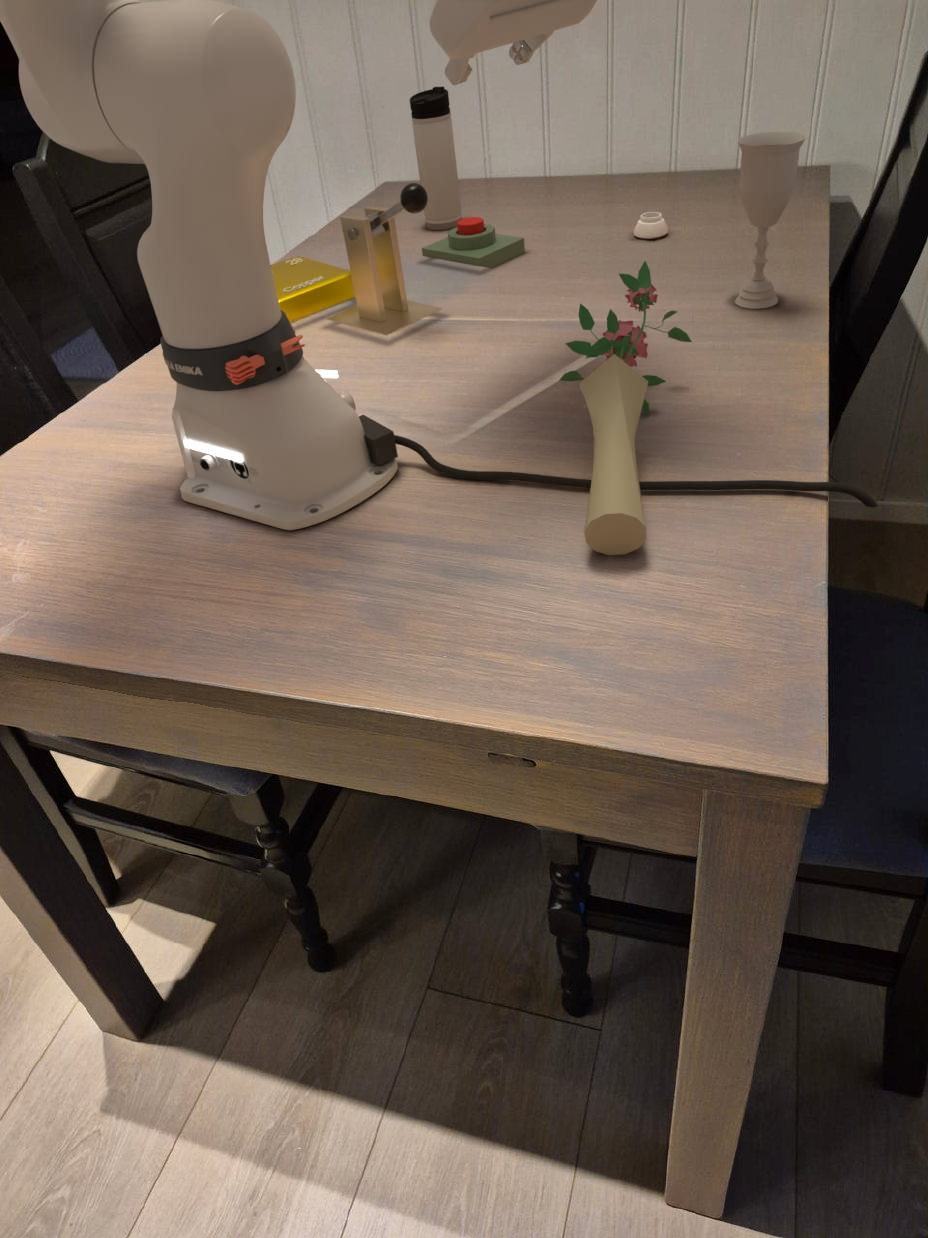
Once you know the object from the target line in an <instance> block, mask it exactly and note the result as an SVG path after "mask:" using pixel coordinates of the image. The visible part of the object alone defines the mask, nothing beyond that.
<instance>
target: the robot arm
mask: <svg viewBox="0 0 928 1238" xmlns="http://www.w3.org/2000/svg"><path fill="white" fill-rule="evenodd" d="M597 1H598V0H436V1H435V3H434V4H433V5H434V6H433V8H432V10H431V14H430V16H429V22H428V23H429V29H430V30H429V31H430V33H431V36H432V37H433V39H434V40H435V42H436V43H437V44H438V45H439V47H440V48H441V49H442V51H443V52H444V54H446V56H447V58H449V60H448V62H447V63H446V66H445V67H444V75H445V78H447V80H448V81H449V83H450V84H451V85H452V86H457V85H460V84H463V83H465V82H467V81H468V77H469V76H471V73H472V71H473V68H472V67H471V65H470V63H469V61H470V59H474V57H475V55H476V54H480V53H483V52H486V51H489V50H493V49H497V48H499V47H503V46H507V45H511V44H512V45H511V46H510V48H509V49H508V55H509V57H510V59H511V60H512V61H513V63H514V65H516V66H520V65H524V64H527V63H529V62H530V61H531V59H532V57H533V56H534V54H535V52H536V50H538V49H539V48H540V47H541V46H542V45H543V44H544V43H545V42H546V41H547V40H548V39H550V37H551V36H553V34H554V32H555V31H558V30H561V29H565V28H568V27H572V26H575V25H578V24H580V23H581V22H582V21H584V19H585V18H586V17H588V15H590V13H591V11H592V10H593V8H594V7H595V5H596V3H597ZM0 23H1V25H2V27H3V29H4V31H5V33H6V35H7V36H8V38H9V41H10V42H11V45H12V47H13V49H14V51H15V53H16V55H17V58H18V81H19V86H20V87H19V88H20V91H21V94H22V97H23V100H24V103H25V106H26V108H27V110H28V112H29V114H30V115H31V118H32V119H33V120H34V121H35V122H34V123H36V125H37V126H38V127H39V128H40V130H41V131H42V132H43V133H44V134H45V135H46V136H47V137H48V138H49V139H50V140H52V141H53V142H54V143H56V144H58V145H60V146H61V147H64V148H66V149H68V150H71V151H72V152H75V153H78V154H79V155H82V156H85V157H88V158H90V159H91V158H92V159H94V160H96V161H101V162H104V163H108V164H109V163H110V164H133V165H134V164H135V165H139V164H140V165H145V167H146V169H147V172H148V173H147V174H148V177H149V183H150V189H151V203H152V204H151V206H152V207H151V221H150V225H149V226H148V227H147V228H146V230H144V232H143V233H142V235H141V237H140V239H139V241H138V245H137V250H136V256H137V262H138V263H137V264H138V266H139V269H140V272H141V275H142V279H143V281H144V284H145V288H146V290H147V294H148V296H149V299H150V302H151V305H152V307H153V311H154V313H155V316H156V320H157V323H158V326H159V328H160V331H161V332H160V333H161V337H160V340H159V341H160V346H161V350H162V357H163V360H164V364H165V365H166V366H167V369H168V371H169V375H170V377H171V379H172V380H173V381H174V382H175V383H176V388H175V389H176V390H175V391H176V394H175V399H174V404H173V407H172V412H171V419H172V420H171V421H172V423H173V427H174V431H175V435H176V440H177V442H178V446H179V451H180V455H181V458H182V462H183V465H184V468H185V472H186V476H187V477H186V478H185V480H184V481H183V482H182V484H181V486H180V488H179V490H180V495H181V499H182V500H183V501H184V502H187V503H190V504H194V505H197V506H200V507H204V508H209V509H212V510H214V511H218V512H222V513H225V514H228V515H233V516H235V517H239V518H243V519H246V520H250V521H252V522H253V521H254V522H256V523H259V524H263V525H267V526H269V527H270V526H271V527H274V528H278V529H281V530H286V531H296V530H300V529H304V528H308V527H311V526H314V525H317V524H319V523H323V522H325V521H327V520H330V519H332V518H335V517H337V516H339V515H341V514H343V513H344V512H346V511H348V510H350V509H352V508H354V507H355V506H357V505H359V504H360V503H362V502H364V501H365V500H367V499H368V498H370V497H372V496H373V495H374V494H375V493H377V492H378V491H380V490H381V489H382V488H383V487H385V486H386V485H387V484H388V483H389V482H390V481H391V480H392V478H393V477H394V476H395V474H396V473H397V471H398V469H399V465H398V463H397V458H398V457H399V454H398V449H397V445H399V446H402V447H405V448H407V449H410V450H411V451H414V452H415V453H417V454H418V456H420V457H421V458H422V459H423V461H424V462H425V463H426V464H427V465H428V466H429V467H430V468H431V469H432V470H434V471H436V472H438V473H441V474H443V475H446V476H450V477H454V478H457V479H463V480H475V481H476V480H477V481H513V482H524V483H533V484H540V485H541V484H542V485H550V486H558V487H559V486H561V487H569V488H581V489H590V488H591V481H592V479H587V478H577V477H576V478H575V477H563V476H554V475H545V474H536V473H528V472H517V471H500V470H499V471H494V470H493V471H489V470H488V471H487V470H486V471H484V470H481V471H480V470H479V471H478V470H466V469H459V468H456V467H452V466H448V465H446V464H442V463H441V462H439V461H438V460H437V459H435V457H433V455H431V453H430V452H429V451H428V450H427V449H426V448H425V447H424V446H423V445H422V444H420V443H419V442H416V441H414V440H413V439H410V438H407V437H404V436H401V435H397V434H395V433H394V432H395V431H394V430H392V429H390V428H388V427H387V426H385V425H383V424H381V423H379V422H377V421H376V420H374V419H373V418H371V417H369V416H367V415H365V414H361V415H358V413H357V411H356V409H357V408H356V403H355V400H354V398H353V396H352V395H351V393H350V392H349V391H347V390H346V391H345V390H344V391H341V392H339V393H338V392H337V391H336V390H335V388H333V386H332V385H331V384H329V382H328V381H327V380H326V379H338V378H339V374H338V373H339V372H338V370H333V369H332V370H329V369H315V368H314V367H313V366H312V365H311V364H310V363H309V362H308V360H307V359H305V357H304V349H303V348H304V347H306V344H305V343H302V344H301V342H300V341H301V340H302V339H303V338H304V335H302V334H299V335H297V332H296V330H295V328H294V326H293V324H291V323H290V322H289V320H288V318H287V316H286V314H285V312H284V311H282V310H281V309H280V305H279V300H278V296H277V292H276V288H275V283H274V279H273V274H272V269H271V265H272V264H271V260H270V256H269V252H268V246H267V242H266V235H265V225H264V200H265V199H264V198H265V188H266V182H267V175H268V171H269V167H270V164H271V161H272V160H273V158H274V155H275V153H276V152H277V150H278V148H280V146H281V145H282V143H283V142H284V140H285V139H286V137H287V135H288V134H289V131H290V129H291V126H292V124H293V119H294V116H295V115H294V114H295V110H296V103H297V101H296V100H297V94H296V93H297V90H296V88H297V87H296V79H295V73H294V70H293V69H294V68H293V65H292V61H291V59H290V56H289V54H288V51H287V49H286V47H285V45H284V43H283V41H282V38H281V37H280V36H279V34H278V32H277V31H276V30H275V29H274V27H273V26H272V25H271V24H270V22H269V21H267V20H266V19H265V18H264V17H263V16H261V15H260V14H259V13H257V12H255V11H253V10H251V9H248V8H245V7H241V6H237V5H234V4H230V3H226V2H222V1H217V0H156V1H155V0H154V1H147V2H142V1H140V0H0ZM639 485H640V491H740V490H743V491H744V490H775V491H776V490H778V491H794V492H835V493H842V494H846V495H849V496H852V497H853V498H856V499H857V500H858V501H860V502H861V503H862V504H863V505H864V506H865V507H868V508H878V506H879V504H878V503H877V501H875V499H874V498H873V497H872V496H871V495H870V494H869V493H867V492H866V491H865V490H863V489H861V488H860V487H858V486H856V485H853V484H850V483H846V482H839V481H795V480H780V479H779V480H778V479H776V480H775V479H767V480H766V479H746V480H670V481H669V480H656V481H655V480H653V481H651V480H650V481H647V480H645V481H640V480H639Z"/></svg>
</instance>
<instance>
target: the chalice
mask: <svg viewBox="0 0 928 1238" xmlns="http://www.w3.org/2000/svg"><path fill="white" fill-rule="evenodd" d="M806 139H807V136H806V135H804V134H803V133H800V132H793V131H765V132H757V133H751V134H747V135H744V136H742V137H739V138H738V139H737V143H738V146H739V149H740V151H741V159H740V171H739V172H740V173H739V185H738V189H739V193H740V196H741V197H740V198H741V200H742V205H743V208H744V210H745V212H746V215H747V218H748V220H749V223H750V225H751V226H753V227H755V228H757V231H758V236H757V239H756V242H755V243H754V247H755V249H756V254H755V257H754V258H753V259H752V260H751V262H752V263H753V264H754V269H755V271H754V274H753V276H751V279H748V280H746V281H745V283H743V285H742V286H741V289H740V290H739V292H738V295H737V297H736V298H735V300H734V303H735V305H737V306H739V307H740V308H743V309H744V308H745V309H754V310H756V309H757V310H758V309H759V310H761V309H766V308H771V307H773V306H775V305H777V304H778V303H779V299H778V297H777V291H776V290H775V288H774V287H775V286H774V283H773V282H772V281H771V280H770V279H768V278H767V277H766V276H765V274H764V269H765V266H766V264H767V263H768V261H769V260H768V258H767V257H766V251H767V248H768V247H769V246H770V243H769V242H768V236H767V234H768V230H769V228H771V227H773V226H775V225H776V224H778V221H779V220H780V218H781V216H782V214H783V213H784V211H785V209H786V207H787V206H788V204H789V202H790V200H791V197H792V195H793V193H794V191H795V188H796V186H797V185H796V184H797V175H798V167H799V159H800V158H799V157H800V149H801V147H802V146H803V144H804V143H805V140H806Z"/></svg>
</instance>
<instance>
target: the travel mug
mask: <svg viewBox="0 0 928 1238" xmlns="http://www.w3.org/2000/svg"><path fill="white" fill-rule="evenodd" d="M409 105H410V107H409V108H410V111H411V121H412V131H413V139H414V147H415V154H416V160H417V161H416V162H417V170H418V176H419V184H420V185H421V186H423V187H424V189H425V190H426V192H427V195H428V202H427V205H426V207H425V208H424V210H423V213H424V221H425V227H426V229H428V230H429V231H437V232H438V231H447V230H451V229H454V228H456V227H457V222H458V221H459V220H461V219H463V214H462V204H461V194H460V185H459V176H458V168H457V159H456V158H457V157H456V148H455V147H456V146H455V140H454V139H455V138H454V131H453V122H452V117H451V116H452V113H451V107H450V98H449V91H448V89H447V88H445V86H433V87H432V89H427V90H424V91H423V90H422V91H420V92H417V93H415V94H413V95H412V96H411V97H410V98H409Z"/></svg>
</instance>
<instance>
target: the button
mask: <svg viewBox="0 0 928 1238" xmlns="http://www.w3.org/2000/svg"><path fill="white" fill-rule="evenodd" d="M484 224H485V220H484V218H483V217H480V216H470V217H465V218H462V219H461V220H459V221H458V222H457V228H458V235H464V236H465V235H475V234H479V233H482V232H484V231H485V229H484Z"/></svg>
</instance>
